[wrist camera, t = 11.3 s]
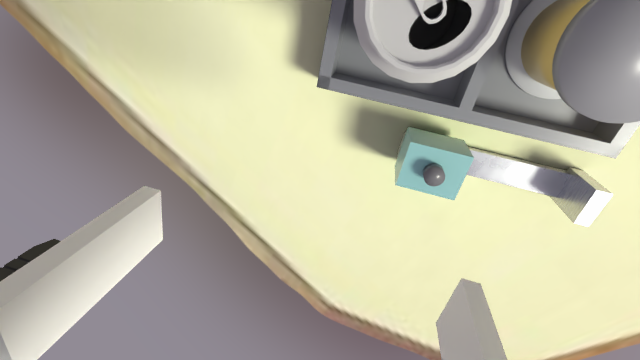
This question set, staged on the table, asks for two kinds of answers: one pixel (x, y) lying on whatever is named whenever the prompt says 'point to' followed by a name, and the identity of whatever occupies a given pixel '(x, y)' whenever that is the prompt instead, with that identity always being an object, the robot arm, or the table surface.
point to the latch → (432, 163)
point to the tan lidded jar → (588, 56)
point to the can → (428, 35)
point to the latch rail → (543, 183)
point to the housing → (472, 87)
